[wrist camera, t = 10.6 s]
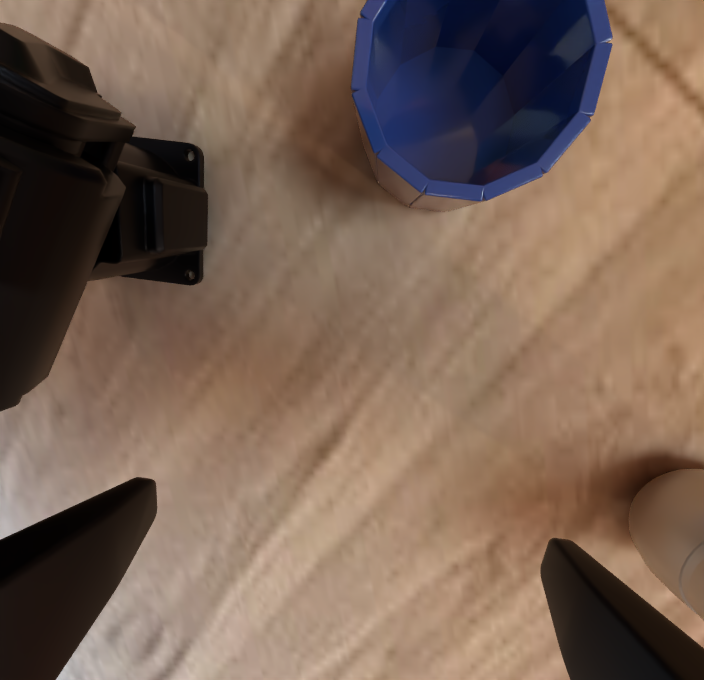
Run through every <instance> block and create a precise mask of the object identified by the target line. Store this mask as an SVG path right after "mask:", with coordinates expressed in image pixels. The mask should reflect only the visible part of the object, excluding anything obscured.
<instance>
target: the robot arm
mask: <svg viewBox="0 0 704 680" xmlns="http://www.w3.org/2000/svg"><path fill="white" fill-rule="evenodd" d="M101 97H102V96H101V95H99V94H98V93H97V90H96V87H95V84H94V81H93V79H92V76H91V73H90V70H89V68H88V67H87V66H85V65H84V64H82V63H81V62H79V61H78V60H76V59H75V58H73V57H72V56H70V55H68V54H67V53H65V52H63V51H61V50H59V49H58V48H56V47H54V46H52V45H51V44H49V43H47V42H45V41H43V40H41V39H40V38H38V37H36V36H34V35H32V34H30V33H28V32H27V31H25V30H23V29H20V28H18V27H16V26H13V25H9V24H5V23H0V411H3V410H6V409H8V408H11V407H14V406H16V405H17V404H19V403H20V400H21V398H22V395H24V394H26V393H28V392H30V391H31V390H32V389H33V388H34V387H36V386H37V385H38V384H39V383H40V382H42V381H43V380H44V379H45V378H47V377H48V375H49V372H50V370H51V368H52V365H53V363H54V361H55V358H56V356H57V353H58V351H59V349H60V346H61V344H62V341H63V339H64V337H65V334H66V332H67V329H68V327H69V325H70V322H71V320H72V317H73V315H74V313H75V310H76V308H77V305H78V303H79V301H80V298H81V296H82V293H83V291H84V289H85V286H86V284H87V282H88V281H93V280H98V279H104V278H110V277H115V276H122V277H130V278H137V279H145V280H153V281H160V282H168V283H176V284H184V285H195V284H198V283H200V282H201V281H202V279H203V249H204V248H205V247H206V246H207V222H208V194H207V192H206V191H205V190H204V156H203V153H202V151H201V149H200V148H199V147H198V146H195V145H193V144H190V143H184V142H175V141H166V140H158V139H149V138H140V137H132V134H133V132H134V129H135V127H136V126H134V125H133V124H132V123H130V122H129V121H127V120H125V119H124V118H122V117H121V116H120V115H121V112H120V111H119V110H117V109H116V108H115V107H113V106H112V105H110V104H109V103H108V102H106V101H105V100H103V99H102V98H101ZM190 151H193V152H194V155H195V157H194V159H193V160H192V161H190V160H189V159H188V154H189V152H190ZM190 270H191V271H193V272H194V274H195V277H194V279H191V278H190V277H189V271H190ZM156 513H157V492H156V483H155V481H154V480H153V479H148V478H141V477H136V478H133V479H131V480H129V481H127V482H125V483H122V484H120V485H118V486H116V487H114V488H112V489H109V490H107V491H105V492H103V493H101V494H99V495H96V496H94V497H92V498H90V499H88V500H86V501H83V502H81V503H79V504H77V505H75V506H73V507H70V508H68V509H66V510H64V511H62V512H60V513H57V514H55V515H53V516H51V517H49V518H47V519H44V520H42V521H40V522H38V523H36V524H34V525H31V526H29V527H27V528H25V529H23V530H21V531H18V532H16V533H14V534H12V535H10V536H7V537H5V538H3V539H1V540H0V680H56V678H57V677H58V675H59V674H60V672H61V671H62V669H63V668H64V667H65V665H66V664H67V662H68V661H69V659H70V658H71V656H72V655H73V653H74V652H75V650H76V649H77V647H78V646H79V644H80V643H81V641H82V640H83V638H84V637H85V635H86V634H87V632H88V631H89V629H90V628H91V626H92V625H93V623H94V622H95V620H96V619H97V617H98V616H99V614H100V613H101V611H102V610H103V608H104V607H105V605H106V604H107V602H108V601H109V599H110V598H111V596H112V595H113V593H114V591H115V590H116V588H117V587H118V585H119V583H120V582H121V580H122V578H123V576H124V575H125V573H126V571H127V569H128V567H129V565H130V564H131V562H132V560H133V558H134V556H135V554H136V553H137V551H138V549H139V547H140V545H141V543H142V541H143V540H144V538H145V536H146V534H147V532H148V530H149V529H150V527H151V525H152V523H153V521H154V519H155V517H156ZM541 579H542V583H543V587H544V591H545V594H546V598H547V602H548V606H549V609H550V613H551V617H552V621H553V625H554V628H555V632H556V636H557V640H558V643H559V647H560V650H561V654H562V657H563V660H564V663H565V666H566V669H567V672H568V674H569V677H570V680H704V648H703V647H701V646H700V645H699V644H698V643H696V642H695V641H694V640H693V639H692V638H690V637H689V636H688V635H687V634H685V633H684V632H683V631H682V630H681V629H679V628H678V627H677V626H676V625H674V624H673V623H672V622H671V621H670V620H668V619H667V618H666V617H665V616H663V615H662V614H661V613H660V612H659V611H657V610H656V609H655V608H654V607H652V606H651V605H650V604H649V603H648V602H646V601H645V600H644V599H643V598H641V597H640V596H639V595H638V594H636V593H635V592H634V591H633V590H632V589H630V588H629V587H628V586H627V585H625V584H624V583H623V582H622V581H621V580H619V579H618V578H617V577H616V576H614V575H613V574H612V573H611V572H610V571H608V570H607V569H606V568H605V567H603V566H602V565H601V564H600V563H599V562H597V561H596V560H595V559H594V558H592V557H591V556H590V555H589V554H587V553H586V552H585V551H584V550H583V549H581V548H580V547H579V546H578V545H576V544H575V543H574V542H573V541H571V540H566V539H559V538H552V539H550V541H549V543H548V545H547V548H546V552H545V555H544V558H543V561H542V564H541Z"/></svg>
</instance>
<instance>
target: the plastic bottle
mask: <svg viewBox="0 0 704 680" xmlns="http://www.w3.org/2000/svg"><path fill="white" fill-rule="evenodd" d="M629 533H630V535H631V538H632V541H633V543H634V544H635V546H636V548H637V550H638V551H639V553H640V555H641V557H642V559H643V560H644V562H645V564H646V565H647V567H648V568H649V569H650V571H651V572H652V573H653V574H654V575H655V576H656V577H657V578H658V579H659V580H660V581H661V582H662V583H663V584H664V585H665V586H666V587H667V588H668V589H669V590H670V591H671V592H672V593H673V594H674V595H675V596H677V597H678V598H679V599H680V600H681V601H682V602H683V603H685V604H686V605H687V606H688V607H689V608H690V609H691V610H693V611H694V612H695V613H696V614H698V615H699V616H700V617H701V618H702V619H703V620H704V469H681V470H675V471H672V472H668V473H665V474H663V475H661V476H658V477H656V478H654V479H653V480H651V481H650V482H648V483H647V484H646V485H645V486H644V487H643V488H641V489H640V490H639V492H638V493H637V494H636V496H635V497H634V499H633V501H632V504H631V507H630V512H629Z"/></svg>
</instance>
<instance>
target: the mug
mask: <svg viewBox="0 0 704 680" xmlns="http://www.w3.org/2000/svg"><path fill="white" fill-rule="evenodd" d="M612 37H613V36H612V32H611V27H610V23H609V19H608V14H607V10H606V5H605V1H604V0H367V2H366V3H365V5H364V7H363V8H362V10H361V11H360V18H358V21H357V30H356V40H355V50H354V60H353V70H352V79H351V91H352V99H353V104H354V108H355V112H356V117H357V121H358V125H359V130H360V134H361V139H362V143H363V147H364V150H365V152H366V155H367V157H368V160H369V163H370V165H371V168H372V170H373V173H374V176H375V178H376V181H377V182H379V185H380V186H381V187H383V188H384V189H385V190H386V191H388V192H389V193H390V194H391V195H393V196H394V197H395V198H396V199H398V200H399V201H400V202H401V203H403V204H404V205H405V206H408V205H409V208H415V209H423V210H432V211H440V212H446V211H451V210H455V209H459V208H462V207H466V206H469V205H473V204H477V203H480V202H484V201H487V200H490V199H492V198H494V197H497V196H499V195H501V194H504V193H506V192H508V191H511V190H513V189H515V188H517V187H520V186H522V185H524V184H527V183H529V182H531V181H534V180H536V179H538V178H541V177H542V176H543V174H545V173H547V172H548V171H549V170H550V169H551V168H552V167H553V165H554V164H555V163H556V162H557V161H558V159H559V158H560V157H561V156H562V155H563V153H564V152H565V151H566V150H567V149H568V147H569V146H570V145H571V144H572V143H573V141H574V140H575V139H576V138H577V137H578V136H579V134H580V133H581V132H582V131H583V130H584V128H585V127H586V126H587V125H588V124H589V122H590V121H591V119H590V117H591V116H593V115H594V112H595V109H596V105H597V101H598V97H599V93H600V90H601V86H602V82H603V78H604V75H605V71H606V67H607V63H608V60H609V56H610V52H611V48H612V43H608V42H609V41H611V40H612Z"/></svg>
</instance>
